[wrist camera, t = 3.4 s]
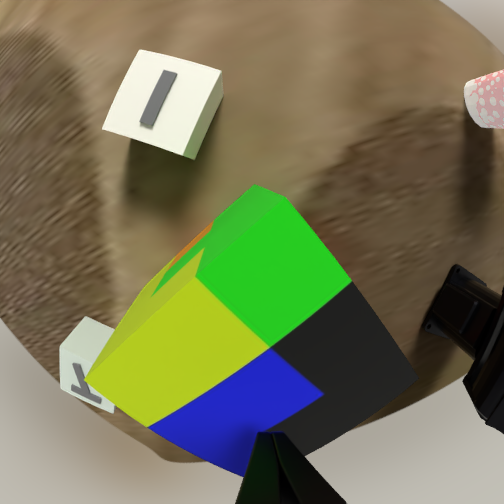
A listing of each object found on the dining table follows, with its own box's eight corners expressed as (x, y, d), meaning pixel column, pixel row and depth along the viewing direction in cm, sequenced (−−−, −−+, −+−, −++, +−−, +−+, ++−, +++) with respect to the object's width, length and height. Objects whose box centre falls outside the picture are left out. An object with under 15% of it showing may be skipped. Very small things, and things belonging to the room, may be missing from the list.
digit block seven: (137, 338, 19) (118, 376, 15) (128, 377, 20) (112, 415, 16) (86, 315, 19) (58, 347, 14) (82, 356, 20) (59, 390, 15)
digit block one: (223, 95, 15) (221, 69, 11) (194, 160, 16) (181, 155, 12) (159, 75, 15) (138, 47, 10) (131, 138, 16) (100, 128, 11)
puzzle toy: (241, 372, 21) (251, 480, 11) (144, 286, 18) (83, 380, 9) (344, 292, 20) (418, 378, 10) (254, 184, 17) (285, 197, 8)
